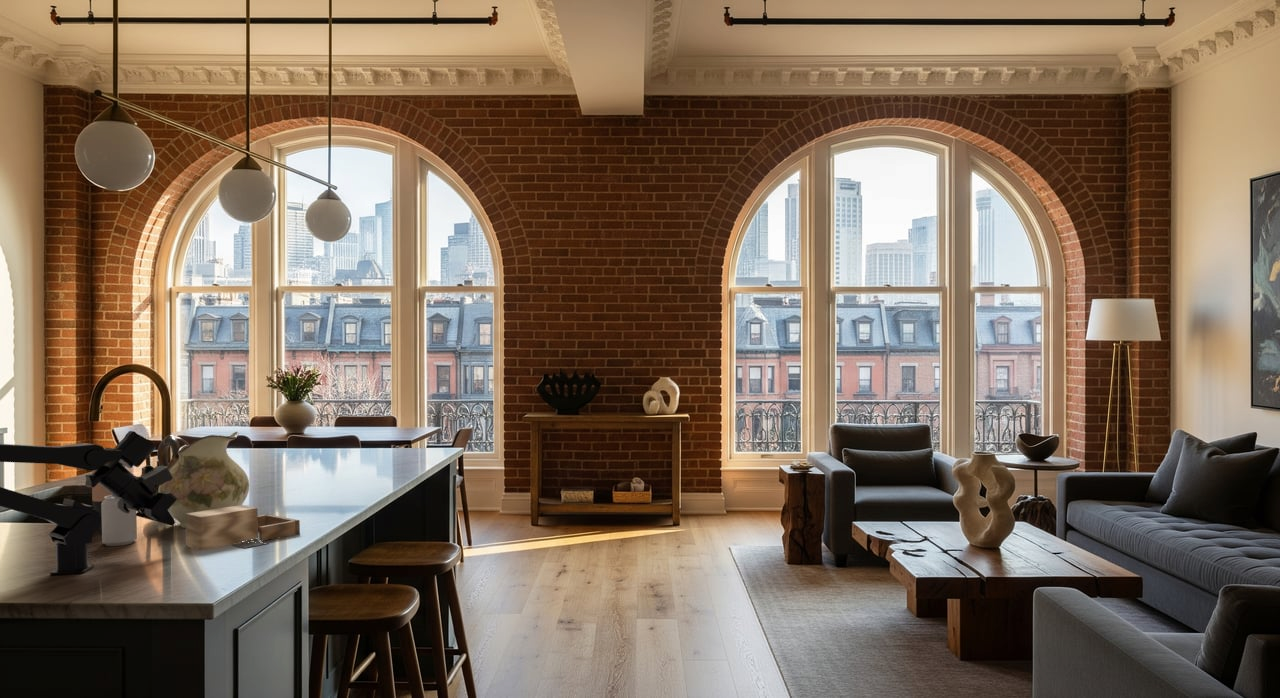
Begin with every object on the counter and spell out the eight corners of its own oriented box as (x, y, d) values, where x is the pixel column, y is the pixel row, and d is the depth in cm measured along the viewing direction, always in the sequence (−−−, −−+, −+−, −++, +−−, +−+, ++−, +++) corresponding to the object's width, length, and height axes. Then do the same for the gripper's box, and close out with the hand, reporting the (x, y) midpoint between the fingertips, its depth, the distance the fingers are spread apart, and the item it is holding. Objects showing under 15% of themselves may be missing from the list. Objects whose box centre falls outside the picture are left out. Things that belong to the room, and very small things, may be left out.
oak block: (201, 550, 209) (201, 517, 209) (186, 546, 214) (185, 513, 214) (258, 539, 220) (257, 507, 220) (242, 536, 225) (241, 504, 225)
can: (121, 547, 214) (119, 498, 214) (94, 546, 216) (93, 497, 215) (144, 540, 221) (143, 492, 221) (118, 539, 223) (117, 492, 223)
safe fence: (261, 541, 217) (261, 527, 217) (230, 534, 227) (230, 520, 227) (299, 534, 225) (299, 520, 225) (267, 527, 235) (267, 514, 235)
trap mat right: (244, 548, 210) (244, 547, 210) (231, 545, 213) (231, 544, 213) (268, 543, 214) (268, 542, 214) (255, 540, 218) (255, 540, 218)
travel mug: (88, 535, 229) (87, 458, 229) (98, 529, 236) (96, 455, 236) (121, 533, 231) (120, 457, 231) (130, 527, 238) (128, 453, 238)
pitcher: (248, 527, 235) (245, 433, 235) (148, 536, 226) (145, 439, 226) (251, 513, 256) (249, 428, 256) (160, 522, 247) (157, 433, 247)
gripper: (166, 458, 198) (216, 499, 207) (130, 453, 210) (179, 493, 218) (130, 498, 192) (182, 539, 201) (94, 490, 203) (146, 530, 212)
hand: (173, 523), depth 208 cm, fingers closed
